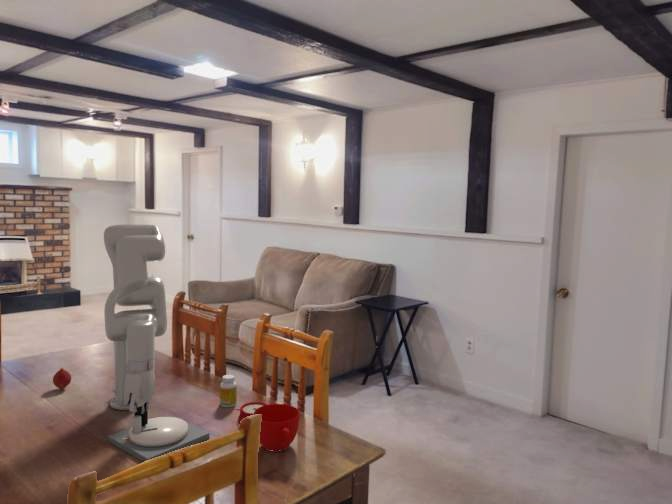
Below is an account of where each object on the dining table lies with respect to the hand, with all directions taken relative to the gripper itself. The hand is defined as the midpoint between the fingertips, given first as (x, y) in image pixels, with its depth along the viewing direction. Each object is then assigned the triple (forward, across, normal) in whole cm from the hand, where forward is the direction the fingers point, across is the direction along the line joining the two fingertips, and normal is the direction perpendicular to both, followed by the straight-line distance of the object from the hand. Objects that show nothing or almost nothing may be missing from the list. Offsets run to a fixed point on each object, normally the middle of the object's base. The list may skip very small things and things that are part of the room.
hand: (141, 424), depth 152 cm
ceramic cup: (+3, 0, +41) cm, 41 cm away
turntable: (+2, 0, +6) cm, 6 cm away
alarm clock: (+4, -17, +30) cm, 35 cm away
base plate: (+4, 0, +6) cm, 7 cm away
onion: (+6, -30, -45) cm, 54 cm away
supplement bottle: (+4, -28, +17) cm, 33 cm away
